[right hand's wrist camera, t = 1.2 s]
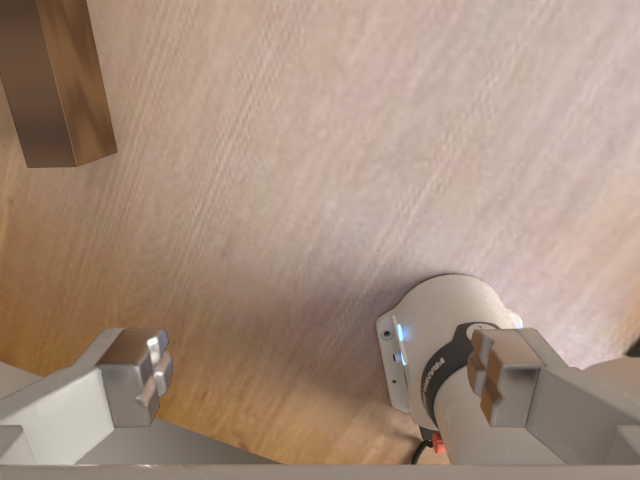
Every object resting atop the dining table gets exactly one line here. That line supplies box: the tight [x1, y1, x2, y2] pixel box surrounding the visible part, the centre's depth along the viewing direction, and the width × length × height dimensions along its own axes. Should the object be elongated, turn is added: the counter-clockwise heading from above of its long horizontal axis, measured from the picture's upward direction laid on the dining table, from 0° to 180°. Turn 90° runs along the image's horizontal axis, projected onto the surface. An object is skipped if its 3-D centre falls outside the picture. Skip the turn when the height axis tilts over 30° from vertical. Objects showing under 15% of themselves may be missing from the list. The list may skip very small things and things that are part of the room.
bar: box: [0, 0, 117, 168], centre depth 36 cm, size 26×5×8 cm, turn 1°
